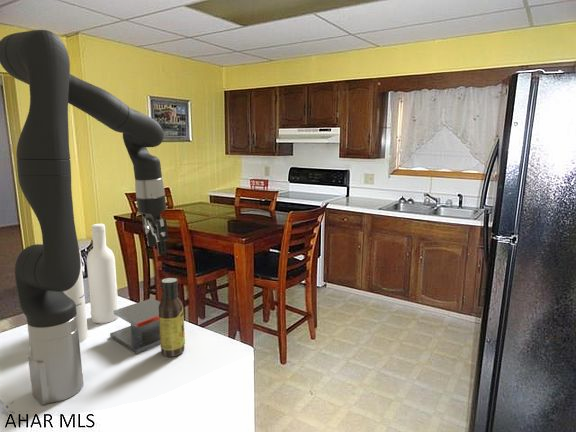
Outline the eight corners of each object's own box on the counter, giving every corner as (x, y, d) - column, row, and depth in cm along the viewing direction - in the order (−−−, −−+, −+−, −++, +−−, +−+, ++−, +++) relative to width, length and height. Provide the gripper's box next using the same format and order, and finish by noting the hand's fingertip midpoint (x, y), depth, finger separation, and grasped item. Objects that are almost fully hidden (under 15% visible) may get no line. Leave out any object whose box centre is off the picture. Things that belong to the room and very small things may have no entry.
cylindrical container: (93, 333, 115) (86, 249, 110) (78, 345, 108) (69, 257, 103) (69, 331, 115) (61, 248, 111) (53, 344, 108) (43, 256, 104)
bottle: (96, 326, 119) (87, 228, 113) (88, 317, 125) (79, 224, 119) (123, 318, 124) (116, 225, 119) (114, 310, 130) (107, 220, 124)
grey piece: (136, 354, 104) (134, 325, 102) (110, 337, 113) (108, 310, 111) (181, 334, 114) (180, 308, 113) (154, 320, 123) (153, 296, 122)
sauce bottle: (188, 354, 104) (185, 282, 101) (164, 360, 101) (160, 286, 97) (181, 343, 110) (178, 274, 106) (157, 349, 106) (154, 278, 103)
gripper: (129, 192, 113) (136, 246, 117) (144, 200, 102) (152, 260, 106) (155, 189, 117) (161, 241, 121) (173, 196, 106) (179, 253, 110)
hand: (157, 250), depth 114 cm, fingers open, 8 cm apart
